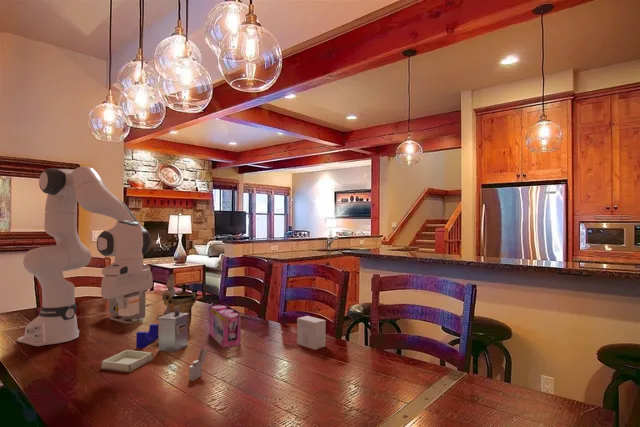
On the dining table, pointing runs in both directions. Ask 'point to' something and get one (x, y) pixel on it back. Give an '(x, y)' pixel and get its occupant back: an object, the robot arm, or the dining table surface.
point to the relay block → (130, 305)
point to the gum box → (225, 325)
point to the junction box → (173, 331)
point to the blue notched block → (147, 336)
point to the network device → (115, 310)
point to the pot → (181, 303)
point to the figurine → (169, 291)
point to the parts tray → (127, 360)
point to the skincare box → (311, 332)
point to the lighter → (197, 366)
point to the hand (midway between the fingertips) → (129, 306)
